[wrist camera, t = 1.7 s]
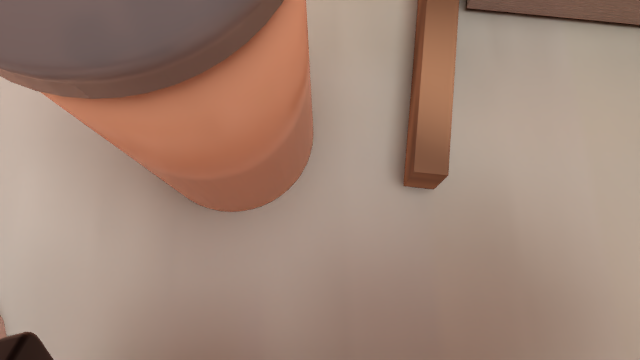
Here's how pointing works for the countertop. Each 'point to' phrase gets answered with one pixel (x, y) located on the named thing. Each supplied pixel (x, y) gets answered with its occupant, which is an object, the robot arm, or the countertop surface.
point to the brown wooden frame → (431, 94)
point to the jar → (177, 86)
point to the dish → (2, 328)
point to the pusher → (568, 8)
